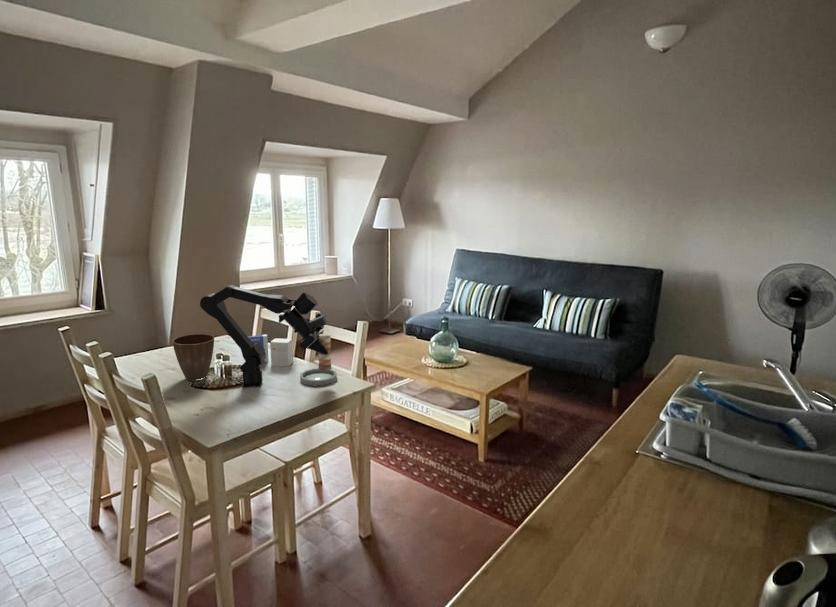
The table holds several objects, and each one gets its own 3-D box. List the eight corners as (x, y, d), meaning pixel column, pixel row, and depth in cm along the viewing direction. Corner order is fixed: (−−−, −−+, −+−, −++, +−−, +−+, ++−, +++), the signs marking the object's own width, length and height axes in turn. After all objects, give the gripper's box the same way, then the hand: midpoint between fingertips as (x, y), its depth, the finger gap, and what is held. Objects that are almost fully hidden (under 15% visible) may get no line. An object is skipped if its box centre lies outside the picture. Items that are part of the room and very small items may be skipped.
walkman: (250, 364, 210) (248, 337, 207) (249, 362, 212) (247, 335, 210) (269, 361, 213) (267, 335, 211) (268, 359, 216) (266, 333, 213)
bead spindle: (319, 370, 184) (319, 337, 181) (317, 366, 188) (316, 334, 185) (332, 369, 186) (332, 336, 183) (329, 365, 190) (329, 333, 187)
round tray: (300, 386, 186) (299, 381, 186) (300, 373, 199) (300, 369, 199) (337, 384, 189) (337, 379, 188) (335, 372, 202) (335, 367, 202)
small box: (293, 362, 213) (292, 338, 211) (289, 366, 208) (288, 342, 206) (275, 361, 214) (274, 338, 212) (270, 365, 209) (269, 341, 206)
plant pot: (177, 373, 197) (174, 335, 194) (217, 369, 202) (214, 332, 199) (173, 387, 183) (170, 346, 180) (216, 382, 189) (213, 342, 185)
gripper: (308, 314, 173) (339, 345, 175) (318, 303, 191) (346, 331, 194) (286, 335, 174) (317, 365, 177) (298, 321, 193) (326, 349, 195)
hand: (328, 351), depth 186 cm, fingers closed on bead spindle, 4 cm apart
